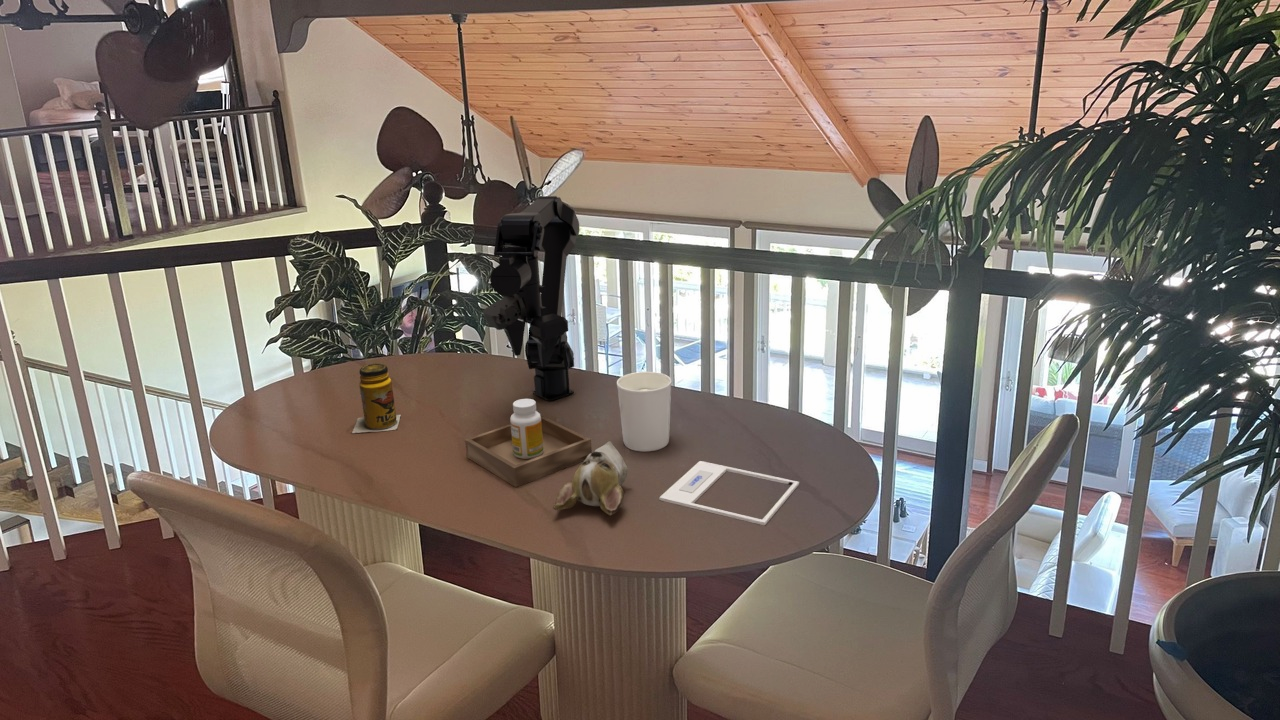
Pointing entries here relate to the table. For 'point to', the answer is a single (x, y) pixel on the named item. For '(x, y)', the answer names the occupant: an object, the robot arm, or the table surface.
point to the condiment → (376, 400)
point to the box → (557, 454)
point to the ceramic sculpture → (596, 481)
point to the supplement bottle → (526, 429)
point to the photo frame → (705, 477)
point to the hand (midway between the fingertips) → (530, 360)
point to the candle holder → (645, 410)
